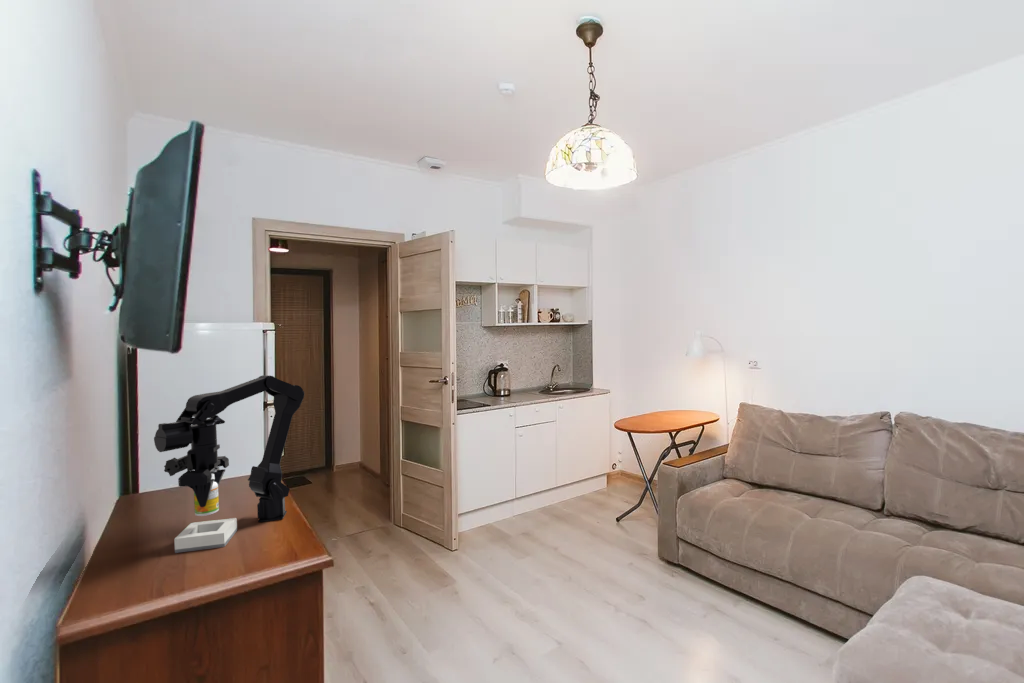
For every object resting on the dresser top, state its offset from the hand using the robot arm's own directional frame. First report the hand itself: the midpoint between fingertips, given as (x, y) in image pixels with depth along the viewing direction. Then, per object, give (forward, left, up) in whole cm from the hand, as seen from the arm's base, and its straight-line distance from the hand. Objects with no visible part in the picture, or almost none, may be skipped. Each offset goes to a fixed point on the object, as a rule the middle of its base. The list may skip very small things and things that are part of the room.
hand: (206, 503), depth 128 cm
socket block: (0, 0, -10) cm, 10 cm away
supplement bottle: (0, 0, -3) cm, 3 cm away
